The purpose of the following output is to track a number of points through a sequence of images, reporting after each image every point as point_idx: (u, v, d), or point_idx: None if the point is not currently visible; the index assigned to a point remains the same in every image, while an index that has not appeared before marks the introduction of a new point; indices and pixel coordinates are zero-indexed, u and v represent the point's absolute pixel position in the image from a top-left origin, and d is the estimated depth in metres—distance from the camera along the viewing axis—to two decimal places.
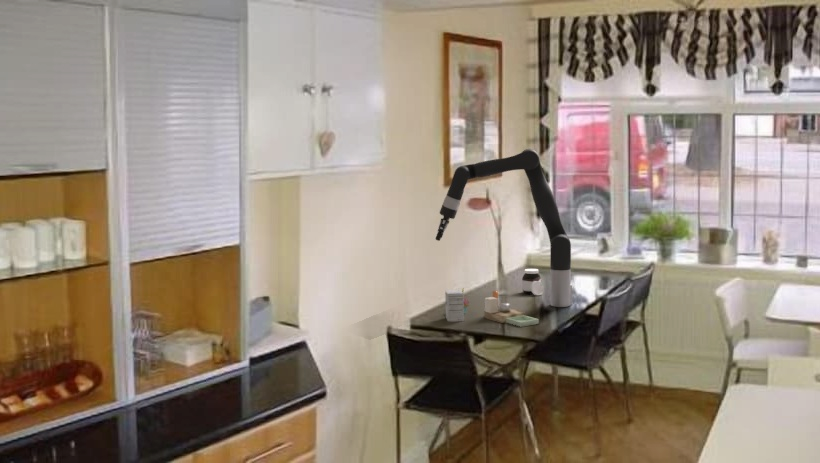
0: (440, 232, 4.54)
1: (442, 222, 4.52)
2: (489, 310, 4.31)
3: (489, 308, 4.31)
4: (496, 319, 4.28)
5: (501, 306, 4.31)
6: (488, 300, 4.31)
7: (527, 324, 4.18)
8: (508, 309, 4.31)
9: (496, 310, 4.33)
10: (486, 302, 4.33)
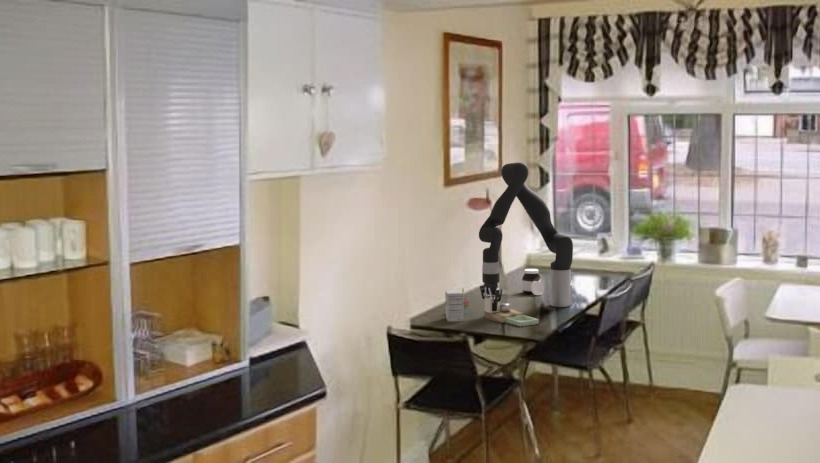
0: (496, 302, 4.30)
1: (498, 293, 4.27)
2: (489, 310, 4.31)
3: (489, 308, 4.31)
4: (496, 319, 4.28)
5: (501, 306, 4.31)
6: (488, 300, 4.31)
7: (527, 324, 4.18)
8: (508, 309, 4.31)
9: None
10: (486, 302, 4.33)
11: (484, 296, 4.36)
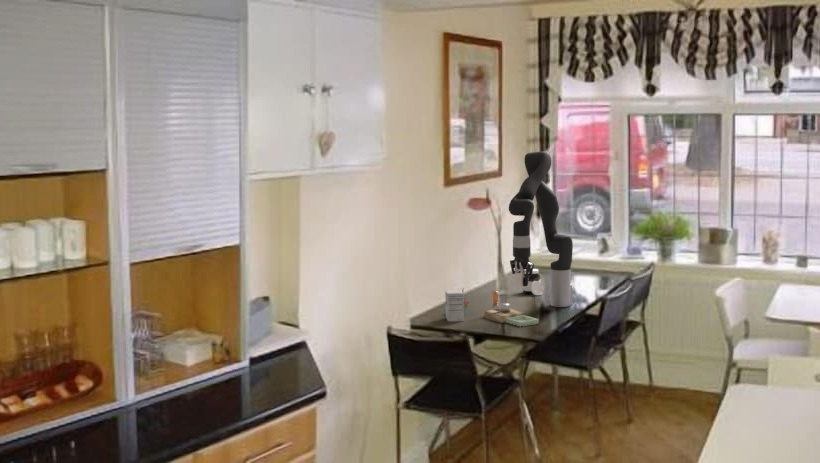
0: (527, 277, 4.17)
1: (530, 267, 4.14)
2: (520, 285, 4.19)
3: (520, 283, 4.18)
4: (496, 319, 4.28)
5: (501, 306, 4.31)
6: (519, 275, 4.19)
7: (527, 324, 4.18)
8: (508, 309, 4.31)
9: None
10: (516, 277, 4.20)
11: (514, 271, 4.23)
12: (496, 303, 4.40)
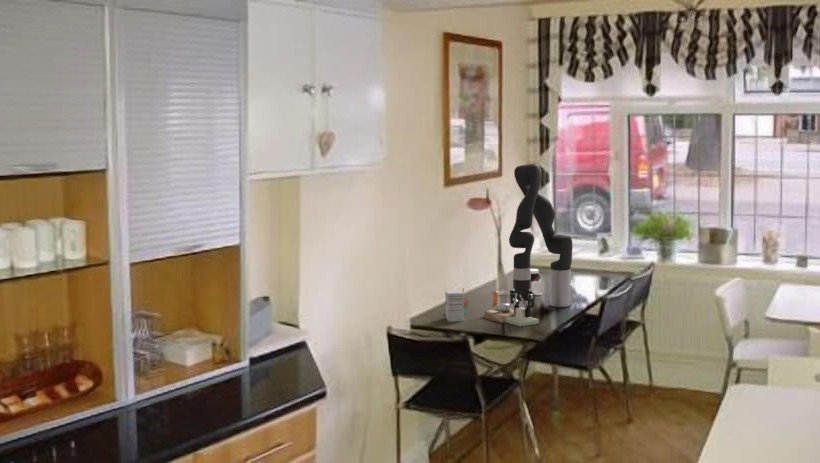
0: (529, 308, 4.18)
1: (531, 298, 4.16)
2: (520, 320, 4.21)
3: (521, 318, 4.20)
4: (496, 319, 4.28)
5: (501, 306, 4.31)
6: (519, 310, 4.21)
7: (527, 324, 4.18)
8: (508, 309, 4.31)
9: None
10: (517, 312, 4.22)
11: (513, 301, 4.26)
12: (496, 303, 4.40)
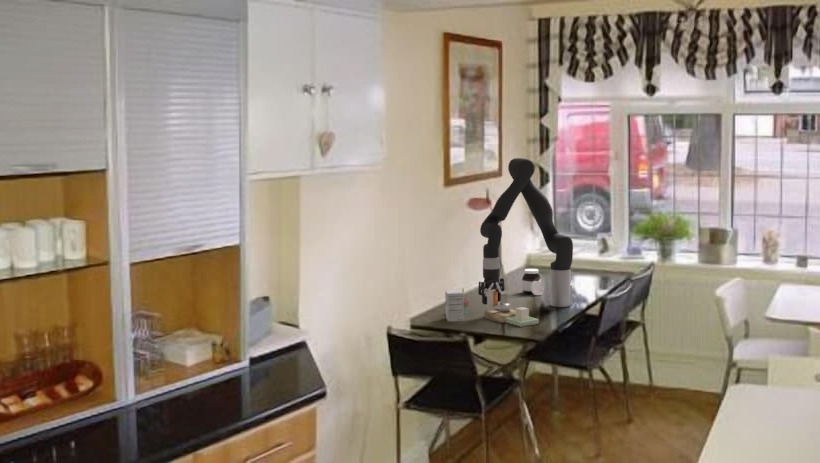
0: (482, 295, 4.34)
1: (479, 285, 4.33)
2: (520, 320, 4.21)
3: (521, 318, 4.20)
4: (496, 319, 4.28)
5: (501, 306, 4.31)
6: (519, 310, 4.21)
7: (527, 324, 4.18)
8: (508, 309, 4.31)
9: None
10: (517, 312, 4.22)
11: (499, 289, 4.42)
12: (496, 303, 4.40)
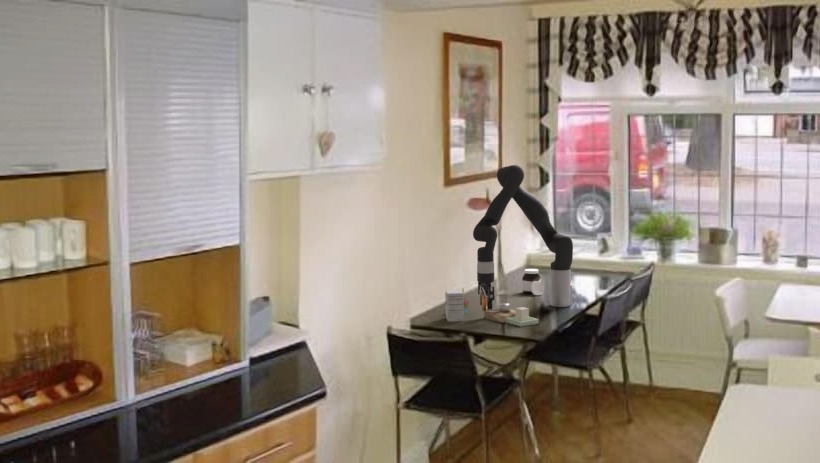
0: (491, 300, 4.25)
1: (490, 290, 4.23)
2: (520, 320, 4.21)
3: (521, 318, 4.20)
4: (496, 319, 4.28)
5: (507, 306, 4.30)
6: (519, 310, 4.21)
7: (527, 324, 4.18)
8: None
9: None
10: (517, 312, 4.22)
11: (480, 292, 4.35)
12: (486, 306, 4.33)
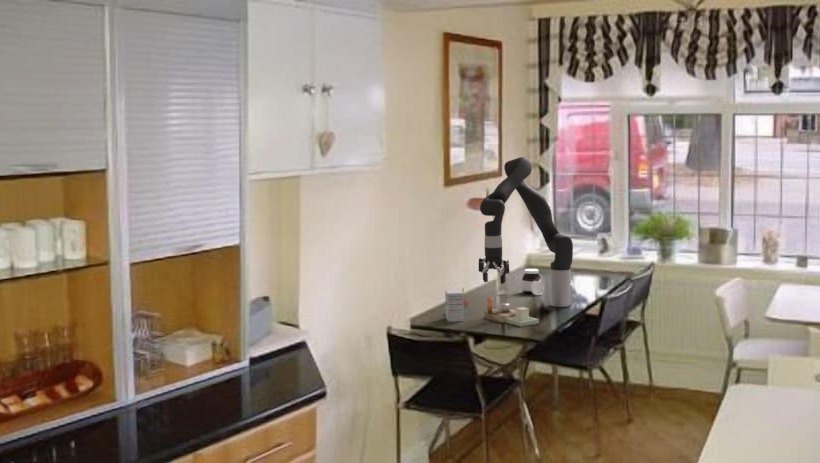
0: (505, 274, 4.20)
1: (506, 263, 4.18)
2: (520, 320, 4.21)
3: (521, 318, 4.20)
4: (496, 319, 4.28)
5: (510, 305, 4.31)
6: (519, 310, 4.21)
7: (527, 324, 4.18)
8: None
9: None
10: (517, 312, 4.22)
11: (481, 269, 4.26)
12: None
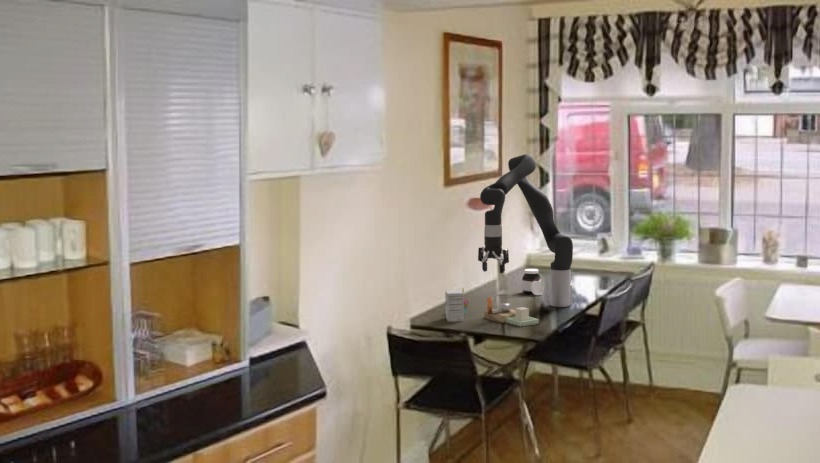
0: (504, 263, 4.19)
1: (506, 252, 4.17)
2: (520, 320, 4.21)
3: (521, 318, 4.20)
4: (496, 319, 4.28)
5: (510, 305, 4.31)
6: (519, 310, 4.21)
7: (527, 324, 4.18)
8: None
9: None
10: (517, 312, 4.22)
11: (481, 259, 4.26)
12: None
